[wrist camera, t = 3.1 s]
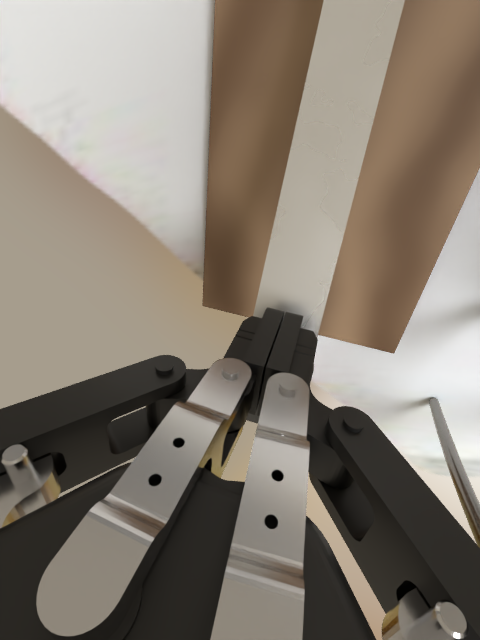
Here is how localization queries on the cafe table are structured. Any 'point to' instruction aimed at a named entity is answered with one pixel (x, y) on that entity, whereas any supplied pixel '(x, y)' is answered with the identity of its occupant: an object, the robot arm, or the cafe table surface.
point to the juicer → (457, 471)
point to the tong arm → (326, 156)
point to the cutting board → (377, 168)
